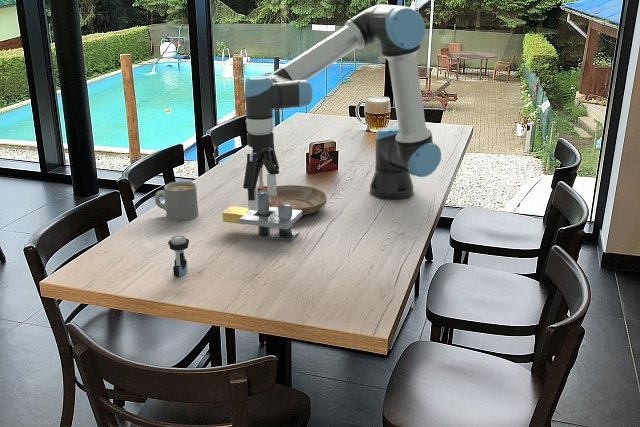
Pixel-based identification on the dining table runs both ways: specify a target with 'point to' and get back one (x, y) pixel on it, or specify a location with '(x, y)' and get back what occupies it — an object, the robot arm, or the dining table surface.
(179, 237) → the push button
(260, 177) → the tow hook
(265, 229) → the pin
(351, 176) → the dining table surface
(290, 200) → the ceramic bowl
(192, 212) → the coffee mug
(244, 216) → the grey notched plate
